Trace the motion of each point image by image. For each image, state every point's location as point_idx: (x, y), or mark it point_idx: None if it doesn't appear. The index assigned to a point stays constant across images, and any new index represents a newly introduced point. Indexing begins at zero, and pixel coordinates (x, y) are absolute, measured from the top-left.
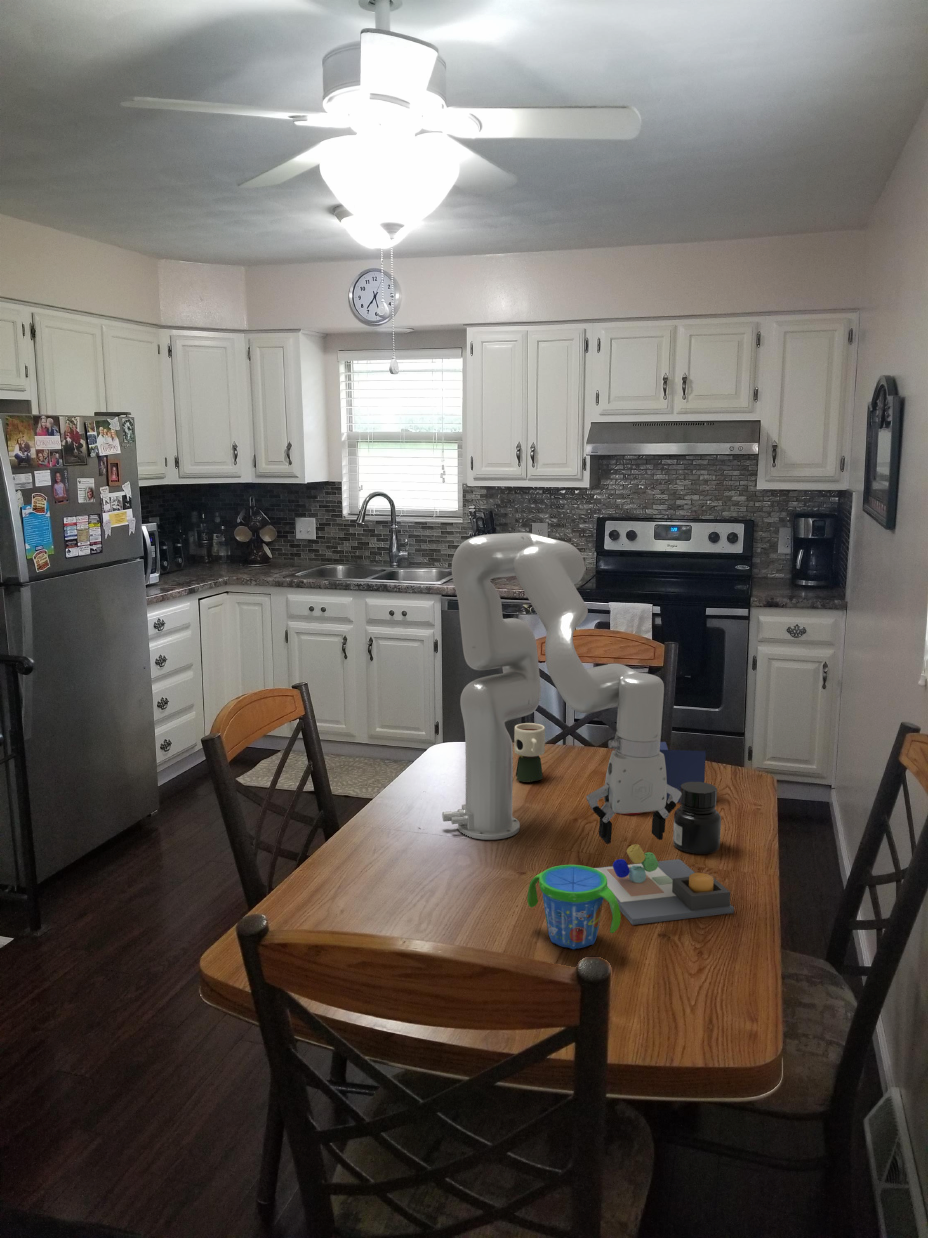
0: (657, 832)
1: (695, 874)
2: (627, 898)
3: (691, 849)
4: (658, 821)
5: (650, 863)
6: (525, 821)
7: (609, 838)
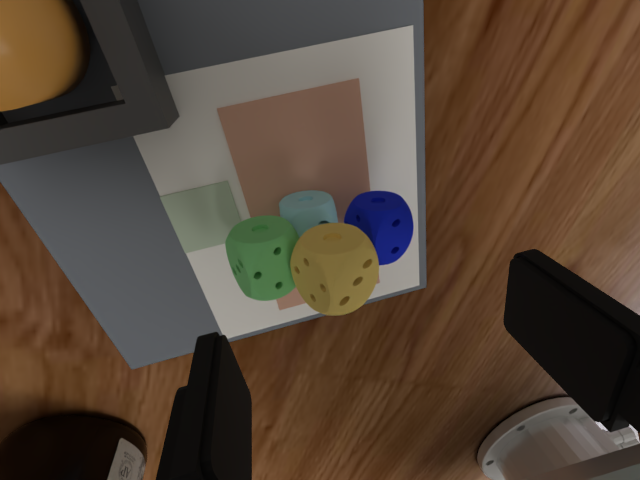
0: (227, 376)
1: (11, 87)
2: (378, 58)
3: (88, 426)
4: (220, 452)
5: (266, 231)
6: (454, 470)
7: (548, 267)
